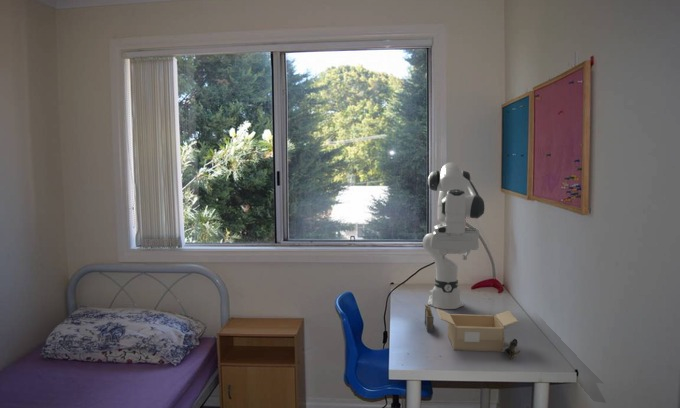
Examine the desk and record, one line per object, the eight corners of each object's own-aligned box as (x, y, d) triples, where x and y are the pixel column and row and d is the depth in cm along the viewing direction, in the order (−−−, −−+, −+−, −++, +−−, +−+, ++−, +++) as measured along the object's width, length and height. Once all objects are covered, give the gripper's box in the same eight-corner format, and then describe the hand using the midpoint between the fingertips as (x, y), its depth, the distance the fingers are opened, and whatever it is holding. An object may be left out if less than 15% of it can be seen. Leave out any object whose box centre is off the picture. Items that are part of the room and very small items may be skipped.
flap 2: (495, 314, 208) (508, 310, 208) (495, 315, 208) (508, 311, 208) (503, 325, 195) (517, 320, 195) (504, 326, 196) (518, 321, 195)
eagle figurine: (525, 359, 186) (521, 346, 195) (516, 344, 185) (512, 332, 194) (507, 366, 189) (504, 353, 197) (498, 352, 188) (495, 340, 196)
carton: (447, 335, 212) (448, 313, 211) (493, 337, 211) (494, 315, 210) (454, 350, 196) (455, 327, 195) (503, 352, 195) (504, 328, 194)
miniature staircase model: (423, 324, 228) (424, 304, 227) (430, 324, 227) (430, 304, 226) (426, 333, 216) (426, 312, 215) (433, 333, 216) (433, 312, 215)
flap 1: (448, 314, 210) (436, 309, 210) (449, 313, 209) (436, 308, 210) (454, 325, 197) (440, 319, 197) (454, 324, 197) (441, 318, 197)
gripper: (477, 226, 208) (476, 257, 209) (430, 226, 209) (429, 257, 211) (481, 229, 201) (479, 261, 203) (432, 228, 203) (431, 260, 204)
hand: (453, 259), depth 207 cm, fingers open, 8 cm apart
